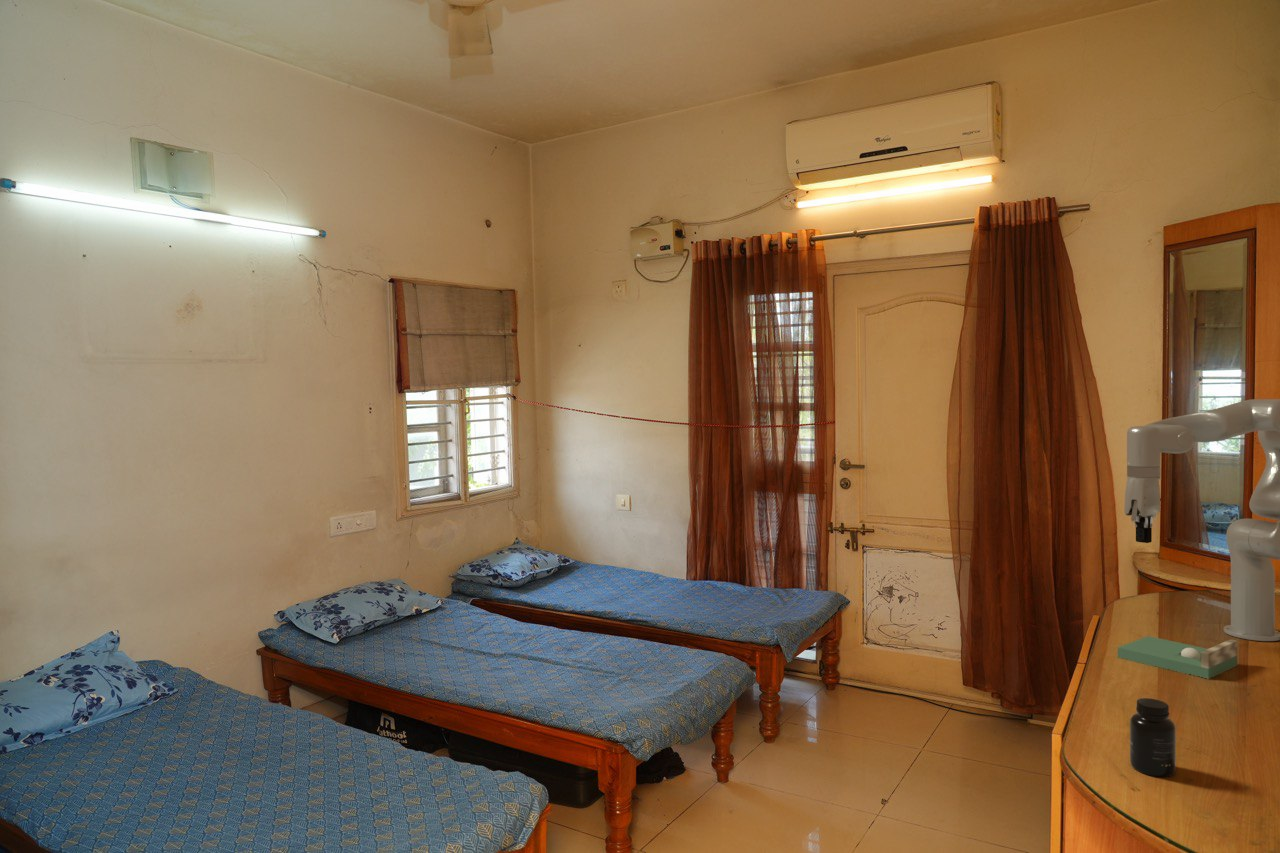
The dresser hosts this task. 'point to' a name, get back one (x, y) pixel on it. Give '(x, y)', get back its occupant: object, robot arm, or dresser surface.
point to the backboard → (1218, 653)
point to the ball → (1190, 653)
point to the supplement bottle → (1152, 739)
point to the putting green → (1171, 657)
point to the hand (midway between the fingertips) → (1143, 541)
